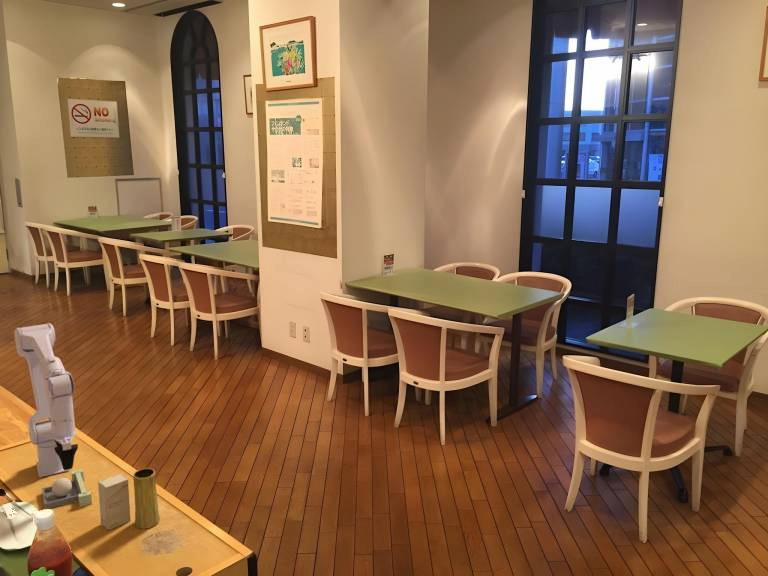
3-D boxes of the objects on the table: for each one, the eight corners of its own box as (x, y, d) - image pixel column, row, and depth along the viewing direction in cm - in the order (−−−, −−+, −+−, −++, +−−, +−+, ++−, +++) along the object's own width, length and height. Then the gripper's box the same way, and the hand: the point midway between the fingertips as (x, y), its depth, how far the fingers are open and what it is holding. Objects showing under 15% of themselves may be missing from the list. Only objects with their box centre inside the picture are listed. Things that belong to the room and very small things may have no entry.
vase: (151, 530, 163) (148, 480, 160) (130, 527, 164) (126, 477, 161) (164, 517, 169) (161, 468, 166) (143, 514, 170) (140, 465, 167)
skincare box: (108, 531, 162) (104, 488, 160) (100, 523, 165) (96, 481, 162) (131, 520, 167) (128, 479, 164) (123, 513, 170) (120, 472, 167)
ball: (51, 493, 178) (49, 477, 177) (71, 489, 180) (69, 472, 179) (53, 501, 173) (51, 485, 172) (73, 496, 176) (72, 480, 175)
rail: (72, 480, 185) (71, 471, 184) (83, 478, 187) (82, 468, 186) (79, 506, 172) (79, 497, 172) (91, 503, 174) (91, 494, 173)
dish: (42, 493, 178) (41, 488, 178) (77, 485, 183) (77, 480, 183) (45, 509, 171) (45, 503, 170) (82, 500, 176) (81, 494, 175)
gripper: (43, 410, 177) (48, 454, 180) (48, 431, 165) (52, 478, 168) (71, 405, 181) (75, 449, 184) (78, 425, 169) (82, 471, 172)
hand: (66, 462), depth 176 cm, fingers open, 7 cm apart
